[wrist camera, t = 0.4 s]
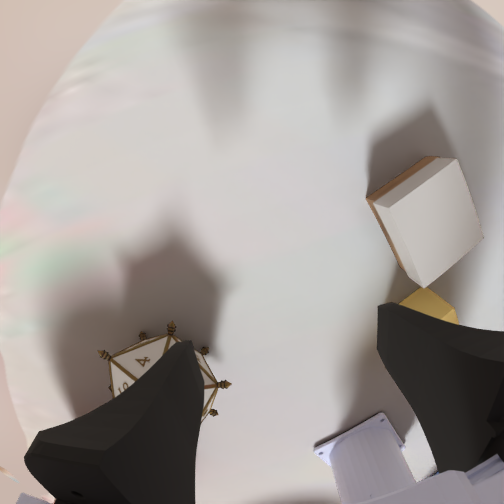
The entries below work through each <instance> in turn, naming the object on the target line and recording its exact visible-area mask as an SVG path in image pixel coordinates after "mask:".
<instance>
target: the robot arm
mask: <svg viewBox="0 0 504 504" xmlns="http://www.w3.org/2000/svg"><path fill="white" fill-rule="evenodd" d="M377 350H378V352H379V355H380V357H381V359H382V361H383V363H384V365H385V367H386V369H387V370H388V372H389V374H390V375H391V377H392V378H393V380H394V381H395V383H396V384H397V386H398V387H399V389H400V390H401V392H402V393H403V395H404V396H405V398H406V399H407V401H408V402H409V404H410V405H411V407H412V409H413V410H414V412H415V414H416V416H417V418H418V420H419V422H420V424H421V427H422V429H423V431H424V433H425V436H426V438H427V441H428V443H429V446H430V448H431V451H432V454H433V457H434V459H435V462H436V465H437V468H438V472H439V474H437V475H434V476H431V477H429V478H426V479H424V480H422V481H419V482H417V483H416V481H415V479H414V477H413V475H412V472H411V470H410V468H409V466H408V464H407V462H406V460H405V458H404V456H403V454H402V451H403V450H404V449H405V445H404V444H403V442H402V440H401V439H400V437H399V436H398V434H397V433H396V431H395V429H394V428H393V426H392V425H391V423H390V422H389V420H388V419H387V417H386V415H385V414H384V413H378V414H377V415H375V416H373V417H372V418H370V419H368V420H367V421H365V422H363V423H361V424H360V425H358V426H356V427H354V428H352V429H351V430H349V431H347V432H345V433H343V434H341V435H339V436H337V437H335V438H334V439H332V440H330V441H328V442H326V443H323V444H321V445H319V446H317V447H315V448H314V453H315V454H316V455H317V456H318V457H320V458H321V459H322V460H323V461H324V462H325V463H327V464H328V465H329V466H330V467H331V468H332V471H333V474H334V478H335V481H336V485H337V488H338V492H339V496H340V499H341V503H342V504H504V331H491V330H483V329H476V328H471V327H466V326H462V325H458V324H454V323H451V322H447V321H444V320H441V319H438V318H435V317H432V316H429V315H427V314H424V313H421V312H419V311H416V310H413V309H411V308H408V307H405V306H403V305H400V304H396V303H393V302H391V303H387V304H383V305H379V306H378V331H377ZM204 384H205V382H204V379H203V376H202V373H201V370H200V366H199V363H198V360H197V357H196V354H195V351H194V348H193V344H192V341H191V340H190V341H182V342H176V343H175V344H173V345H172V346H171V347H170V348H169V349H168V350H167V351H166V352H165V353H164V354H163V355H162V356H161V358H160V359H159V360H158V361H157V362H156V363H155V364H154V365H153V366H152V367H151V368H150V369H149V370H148V371H146V372H145V373H144V374H143V375H142V376H141V377H140V378H139V379H138V380H136V381H135V382H134V383H133V384H132V385H131V386H130V387H128V388H127V389H126V390H124V391H123V392H122V393H120V394H119V395H118V396H116V397H115V398H113V399H112V400H110V401H109V402H107V403H105V404H104V405H102V406H100V407H99V408H97V409H95V410H93V411H92V412H90V413H88V414H86V415H84V416H81V417H79V418H77V419H75V420H72V421H70V422H67V423H65V424H62V425H59V426H56V427H53V428H49V429H46V430H43V431H39V432H38V434H37V436H36V437H35V439H34V441H33V442H32V444H31V446H30V448H29V449H28V451H27V453H26V455H25V456H24V461H25V464H26V466H27V468H28V470H29V471H30V472H31V474H32V475H33V476H34V477H35V478H36V479H37V480H38V482H39V483H40V484H42V485H43V487H44V488H45V489H46V490H47V491H48V492H49V493H50V494H51V495H53V496H54V497H55V498H56V500H55V502H54V504H195V458H196V449H197V443H198V437H199V431H200V425H201V419H202V413H203V407H204ZM16 504H50V503H48V502H47V501H44V500H42V499H39V498H36V497H33V496H31V495H28V494H25V493H21V494H20V497H19V498H18V500H17V502H16Z"/></svg>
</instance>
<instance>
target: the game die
mask: <svg viewBox="0 0 504 504" xmlns="http://www.w3.org/2000/svg"><path fill="white" fill-rule="evenodd" d="M167 326H168V328H167V330H168V333H167V334H163V335H160V336H156V337H152V338H148V339H146V333H143V332H142V331H141V333H140V335H139V337H140V339H141V340H142V341H140V342H138V343H136V344H134V345H132V346H130V347H128V348H126V349H124V350H122V351H120V352H118V353H116V354H114V355H112V356H110V355H109V354H108V352H105V350H104V351H98V353H99V355H100V357H101V358H104V359H106V360H108V362H109V372H110V380H111V384H110V386H109V389H110V390H111V392H112V396H113V398H115V397H116V396H118V395H119V394H120V393H122V392H123V391H124V390H126V389H127V388H128V387H130V386H131V385H132V384H133V383H134V382H135V381H136V380H138V379H139V378H140V377H141V376H142V375H143V374H144V373H145V372H146V371H148V370H149V369H150V368H151V367H152V366H153V365H154V364H155V363H156V362H157V361H158V360H159V359H160V358H161V356H162V355H163V354H164V353H165V352H166V351H167V350H168V349H169V348H170V347H171V346H172V345H173V344H175V343H176V342H182V340H180V339H179V338H177V337H176V336H175V335H173V333H174V331H175V328H176V326H175V324H174V322H173V321H172V322H171V323H170V324H169V325H167ZM208 350H209V347H205V348H204V347H203V349H201V352H198V351H197V350H195V349H194V351H195V354H196V357H197V360H198V363H199V366H200V370H201V373H202V376H203V379H204V382H205V384H204V407H203V413H202V419H201V423H202V422H203V420H204V419H205V418H206V416H207V415H208V414H209V413H210V415H212V416H213V417H214V416H216V415H218V413H217V410H215V409H211V407H212V404H213V402H214V399H215V396H216V393H217V391H218V388H222V389H224V388H226V389H227V388H228V387H229V386H230V385H231V383H229V382H227V381H226V380H225V381H221V382H217V380H216V379H215V377H214V375H213V373H212V372H211V370H210V368H209V366H208V364H207V362H206V361H205V359H204V357H203V355H206V354H207V353H209V352H208Z"/></svg>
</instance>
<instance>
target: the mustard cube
mask: <svg viewBox="0 0 504 504" xmlns="http://www.w3.org/2000/svg"><path fill="white" fill-rule="evenodd" d="M399 304H400V305H403V306H405V307H408V308H411V309H413V310H416V311H419V312H421V313H424V314H427V315H429V316H432V317H435V318H438V319H441V320H444V321H447V322H451V323H454V324H458V325H459V323H458V319H457V315H456V312H455V309H454V307H452V306H451V305H450V304H449V303H447V302H446V301H445V300H443V299H442V298H441V297H439V296H438V295H437V294H435V293H434V292H433V291H431V290H430V289H429V288H427V287H425V288H422V287H420V288H419V289H417V290H416V291H415V292H414V293H412V294H411V295H410V296H408V297H407V298H406V299H404V300H403V301H402V302H400V303H399Z"/></svg>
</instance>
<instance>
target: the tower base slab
mask: <svg viewBox="0 0 504 504" xmlns="http://www.w3.org/2000/svg"><path fill="white" fill-rule="evenodd" d="M436 158H440V157H436V156H426V157H425V158H423V159H422V160H421V161H419V162H418V163H416V164H415V165H413V166H412V167H410V168H409V169H408V170H406V171H405V172H403V173H402V174H400V175H399V176H397V177H396V178H395V179H393V180H392V181H390V182H389V183H387V184H386V185H384V186H383V187H381V188H380V189H379V190H377V191H376V192H374V193H373V194H371V195H370V196H368V197H367V198H366V200H367V202H368V204H369V206H370V207H371V209H372V211H373V213H374V215H375V217H376V219H377V221H378V223H379V225H380V227H381V229H382V231H383V233H384V235H385V237H386V239H387V241H388V243H389V245H390V247H391V249H392V251H393V253H394V255H395V257H396V259H397V262H398V264H399V266H400V268H402V269H403V270H405V268H404V266H403V264H402V262H401V259H400V257H399V255H398V253H397V251H396V249H395V247H394V244H393V242H392V240H391V238H390V236H389V234H388V232H387V230H386V228H385V226H384V224H383V222H382V220H381V218H380V216H379V214H378V212H377V210H376V208H375V206H374V204H373V203H374V202H375V201H376V200H378V199H379V198H381V197H382V196H384V195H385V194H387V193H388V192H389V191H391V190H392V189H394V188H395V187H397V186H398V185H399V184H401V183H402V182H404V181H405V180H407V179H408V178H409V177H411V176H412V175H414V174H415V173H417V172H418V171H419V170H421V169H422V168H424V167H425V166H426V165H428V164H429V163H431V162H432V161H433V160H435V159H436Z"/></svg>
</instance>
